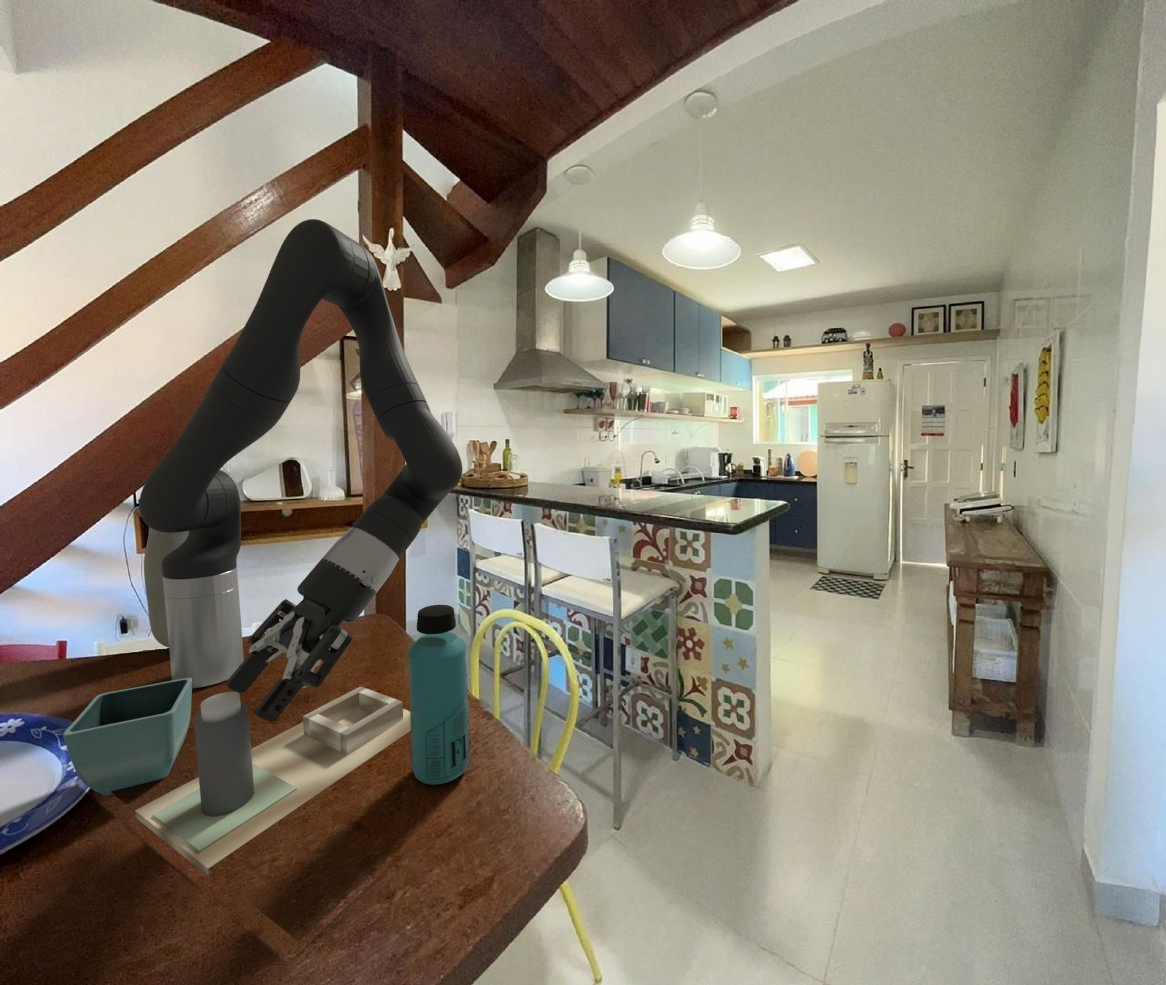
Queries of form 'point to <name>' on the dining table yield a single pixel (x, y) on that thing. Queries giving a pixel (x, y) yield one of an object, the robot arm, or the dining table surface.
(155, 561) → the grey tall rounded piece
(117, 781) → the flower pot
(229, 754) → the grey capped cylinder
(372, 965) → the dining table surface
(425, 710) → the beverage bottle
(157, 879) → the dining table surface
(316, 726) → the cream tray
